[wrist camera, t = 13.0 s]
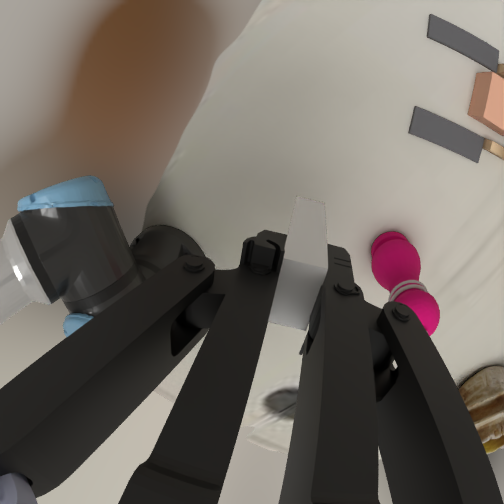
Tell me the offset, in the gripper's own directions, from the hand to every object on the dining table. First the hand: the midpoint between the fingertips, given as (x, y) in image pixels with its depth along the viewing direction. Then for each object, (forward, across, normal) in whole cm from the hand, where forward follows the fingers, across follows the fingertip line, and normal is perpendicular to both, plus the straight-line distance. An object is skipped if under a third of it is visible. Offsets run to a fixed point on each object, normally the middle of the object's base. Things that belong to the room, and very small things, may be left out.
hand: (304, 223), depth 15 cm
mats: (+26, -18, -16) cm, 35 cm away
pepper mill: (+26, -15, +11) cm, 32 cm away
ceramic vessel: (+26, -55, +40) cm, 73 cm away
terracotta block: (+26, -24, -16) cm, 39 cm away
